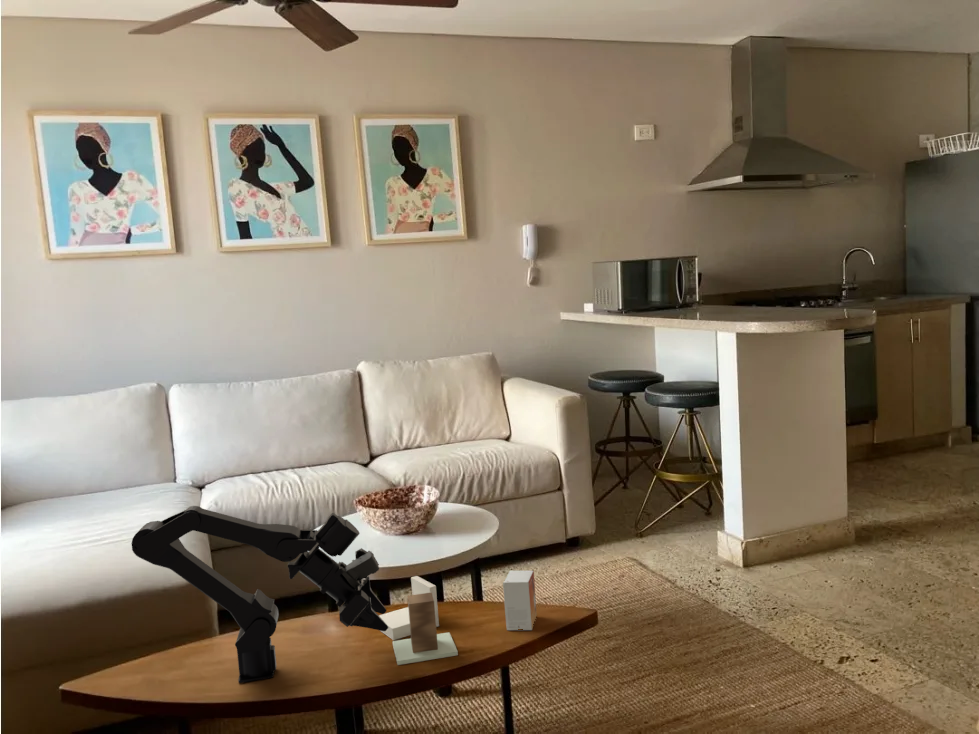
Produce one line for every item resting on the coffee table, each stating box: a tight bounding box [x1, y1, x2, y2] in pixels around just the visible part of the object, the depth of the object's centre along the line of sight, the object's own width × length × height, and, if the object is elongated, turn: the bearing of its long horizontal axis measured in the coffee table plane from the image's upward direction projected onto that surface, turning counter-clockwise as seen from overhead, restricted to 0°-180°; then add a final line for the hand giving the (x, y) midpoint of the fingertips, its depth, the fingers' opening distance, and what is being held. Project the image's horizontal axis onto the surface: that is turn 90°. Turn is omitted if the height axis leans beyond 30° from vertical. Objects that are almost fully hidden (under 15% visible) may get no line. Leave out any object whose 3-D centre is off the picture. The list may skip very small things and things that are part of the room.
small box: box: [502, 570, 538, 631], centre depth 172 cm, size 8×6×10 cm
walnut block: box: [406, 593, 438, 653], centre depth 162 cm, size 5×5×10 cm
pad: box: [392, 632, 459, 666], centre depth 162 cm, size 12×10×1 cm
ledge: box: [378, 575, 440, 641], centre depth 175 cm, size 11×9×9 cm
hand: (386, 620), depth 161 cm, fingers open, 9 cm apart
